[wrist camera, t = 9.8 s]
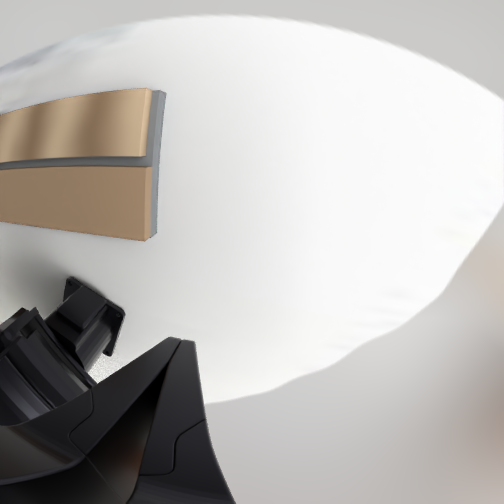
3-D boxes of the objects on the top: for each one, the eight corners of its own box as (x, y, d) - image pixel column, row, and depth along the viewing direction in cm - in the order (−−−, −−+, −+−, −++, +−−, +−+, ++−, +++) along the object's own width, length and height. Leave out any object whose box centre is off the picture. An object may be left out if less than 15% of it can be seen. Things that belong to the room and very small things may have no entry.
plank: (152, 90, 15) (146, 88, 14) (145, 155, 17) (139, 156, 16) (-9, 120, 16) (-16, 120, 15) (-11, 163, 17) (-18, 164, 16)
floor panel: (166, 93, 16) (153, 87, 14) (156, 232, 20) (144, 242, 18) (-3, 120, 17) (-18, 121, 15) (-2, 214, 20) (-16, 220, 18)
